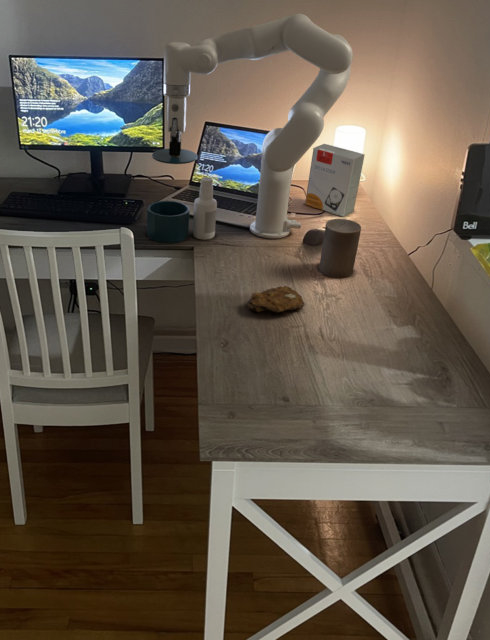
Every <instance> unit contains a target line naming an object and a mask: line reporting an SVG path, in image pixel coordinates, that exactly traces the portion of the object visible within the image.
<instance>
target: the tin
mask: <svg viewBox="0 0 490 640" xmlns="http://www.w3.org/2000/svg"><path fill="white" fill-rule="evenodd" d="M146 210H147V211H146V213H147V215H146V216H147V217H146V234H147V237H148V238H149V239H150V240H152V241H154V242H158V243H164V244H174V243H180V242H183V241H185V240H186V239H188V237H189V233H190V232H189V231H190V211H191V210H190V207H189V206H188V204H186V203H183V202H180V201H175V200H159V201H154V202H152V203H150V204H149V205H147V208H146Z"/></svg>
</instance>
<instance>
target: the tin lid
mask: <svg viewBox="0 0 490 640" xmlns="http://www.w3.org/2000/svg"><path fill="white" fill-rule="evenodd" d="M179 142H180V141H179ZM151 158H152V159H153V160H155V162H159V163H163V164H169V165H185V164H190V163H193V162H196V161H197V160H198V154H197V153H196V152H194V151H192V150H190V149H184V148H181V151H180V156H170V155H169V148H162V149H158V150H156V151H153V152H152V155H151Z"/></svg>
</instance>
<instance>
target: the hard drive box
mask: <svg viewBox="0 0 490 640" xmlns="http://www.w3.org/2000/svg"><path fill="white" fill-rule="evenodd" d="M365 156H366V155H365V154H364V153H361V152H358V151H353V150H350V149H346V148H342V147H339V146H335V145H331V144H327V143H322V144H320V145H317V146H315V147H313V148H312V155H311V162H310V169H309V175H308V183H307V188H306V195H305V201H304V205H306V206H309V207H312V208H315V209H318V210H322V211H325V212H328V213H331V214H333V215H337V216H340V217H343V218H344V217H345V216H347V215H350V214H352V213H353V212H355V206H356V201H357V196H358V191H359V185H360V181H361V176H362V171H363V165H364V161H365Z"/></svg>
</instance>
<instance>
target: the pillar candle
mask: <svg viewBox="0 0 490 640" xmlns="http://www.w3.org/2000/svg"><path fill="white" fill-rule="evenodd" d="M324 228H325V229H324V234H323V239H322V246H321V252H320V258H319V264H318V269H319V271H320V272H321V273H322V274H323V275H325V276H328V277H331V278H349V277H351V276H352V275H353V274H354V267H355V263H356V258H357V253H358V249H359V242H360V237H361V232H362V226H361V224H360V223H358V222H357V221H354V220H351V219H347V218H331V219H328V220H327V221H326V222H325V227H324Z"/></svg>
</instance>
